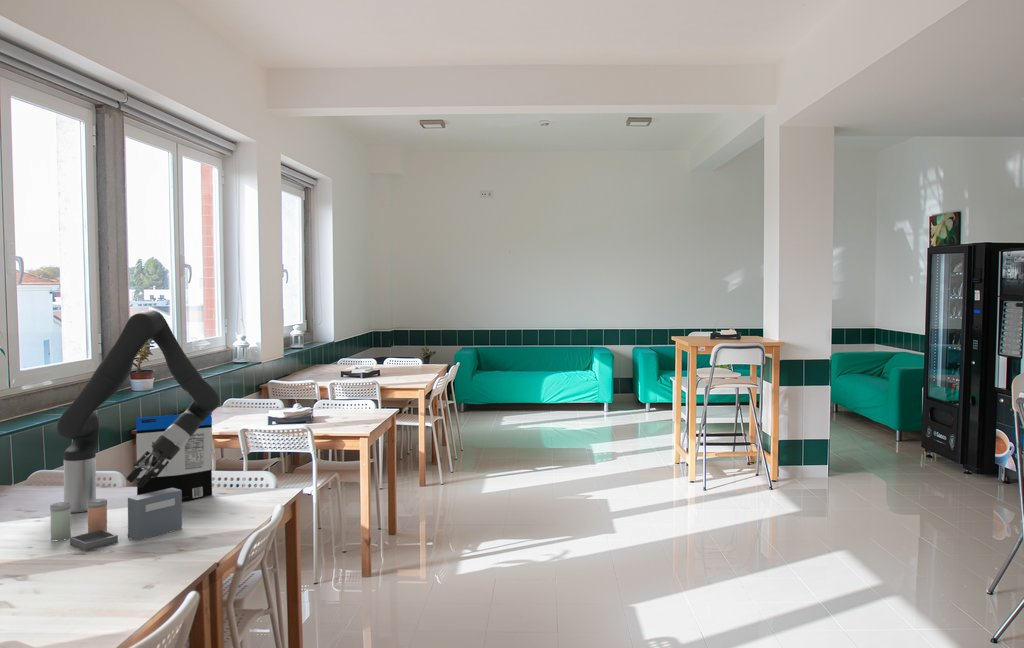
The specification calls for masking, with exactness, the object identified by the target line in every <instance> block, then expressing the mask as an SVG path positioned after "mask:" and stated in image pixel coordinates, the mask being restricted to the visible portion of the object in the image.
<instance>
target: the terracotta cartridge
mask: <svg viewBox="0 0 1024 648" xmlns="http://www.w3.org/2000/svg"><path fill="white" fill-rule="evenodd" d="M87 507H88V511H87V533H90V532H94V531H98V530H105V531H108V499H105V498H96V499H95V500H90V501H88V502H87Z"/></svg>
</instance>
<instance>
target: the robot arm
mask: <svg viewBox="0 0 1024 648" xmlns="http://www.w3.org/2000/svg"><path fill="white" fill-rule="evenodd" d="M122 329H123V330H122V332H121V333H120V335H119V337H118V339H117V341H116V342H115V344H114V345H113V346H112V348H111V349H110V350H109V351H108V353H107V354H106V356H105V357H104V358H103V360H102V361H101V362H100V363H99V365H98V366H97V368H96V370H95V371H94V372H93V374H92V376H91V377H90V378H89V380H88V382H87V383H86V384H85V386H84V387H83V388H82V390H81V391H80V393H79V394H78V395H77V397H76V398H75V399H74V401H73V402H71V404H70V405H69V406H68V408H66V409H65V411H64V412H63V413H62V415H61V416H60V417H59V419H58V421H57V427H56V429H57V435H59V436H60V437H61V438H62V439H64V440H67V441H68V440H72V442H71V444H70V445H69V446H68V447H67V448H66V449H65V450H64V451H63V502H70V503H71V513H84V512H88V507H87V502H88V501H90V500H95V499H97V481H96V480H97V479H96V478H97V468H96V465H97V463H96V461H97V459H96V455H97V454H96V453H97V450H98V447H99V439H100V438H99V437H100V436H99V435H100V421H99V418H98V415H97V413H96V410H97V409H98V408H99V407H100V406H102V405H103V404H104V403H105V402H107V401H108V400H109V399H110V398H111V397H112V396H114V395H115V394H116V393H117V392H118V391H119V390H120V389H121V388H122V386H123V385H124V384H125V382H126V381H127V380H128V378H129V376H130V374H131V372H132V369H133V365H134V360H135V358H136V356H137V354H138V353H139V352H140V351H141V349H142V348H143V347H144V345H145V344H146V343H147V342H148V341H149V340H152V341H153V342H154V343H155V344H156V345H157V347H158V348H159V349H160V352H161V353H162V355H163V357H164V360H165V362H166V365H167V369H168V370H169V372H170V374H171V376H172V377H173V378H174V380H175V381H176V382H177V383H178V385H179V386H180V387H181V388H182V390H184V391H185V392H186V393H188V394H189V395H190V397H191V398H192V399H193V401H192V402H191V403H190V404H189V405H188V407H187V408H186V409H185V411H184V412H182V413H181V414H179V415H180V416H179V417H178V418H177V419H176V420H175V422H174V423H173V424H172V425H171V426H169V427H168V428H167V429H166V430H165V431H164V432H163V433H162V434H161V436H160V437H159V438H158V439H157V440H156V441H155V442H154V443H153V444H152V448H153V449H154V451H153V452H151V453H150V452H148V451H146V452H145V453H144V455H143V456H142V457H141V458H140V459H139V460H138V461H137V460H136V461H135V463H134V464H133V470H131V472H130V473H129V474H128V475H127V476H126V480H127V482H130V483H133V482H134V481H135V480H136V479H137V477H138V476H139V474H140V473H141V472H143V471H144V470H147V471H146V473H145V474H144V475H143V476H142V477H141V478H140V479H139V480H138V481H136V486H137V485H138V486H139V487H141V488H142V487H143V486H144V485H145V484H146V483H147V482H148V481H149V480H150V478H153V477H155V478H156V477H157V476H158V475H159V474H160V473H161V471H162V470H163V469H164V468H165V467H166V465H167V464H168V463H169V461H167V460H166V459H168V460H171V459H172V458H173V457H174V456H175V455H176V454H177V453H178V452H179V450H180V449H181V448H182V447H183V446H184V445H185V444H186V442H187V441H188V440H189V438H190V437H191V436H192V435H193V434H194V432H195V431H196V430H197V429H198V428H199V426H200V425H201V423H202V422H203V421H204V420H205V419H206V418H207V417H208V416H209V415H210V414H211V413H212V414H213V412H214V411H215V410H216V409H218V407H219V406H220V401H221V400H220V396H219V394H218V392H217V391H216V390H215V389H214V388H213V387H212V386H211V385H210V383H209V382H207V381H206V380H205V379H204V377H203V376H202V375H201V374H200V372H199V371H198V369H197V368H196V367H195V365H194V364H193V363H192V361H191V360H190V359H189V357H188V356H187V355H186V352H184V350H183V349H182V347H181V346H180V344H179V341H178V340H177V338H176V336H175V335H174V332H173V331H172V330H171V328H170V326H169V324H168V322H167V320H166V318H165V317H164V315H163V314H162V313H161V312H160V311H157V310H155V309H146V310H143V311H142V310H141V311H138V312H136V313H134V314H132V315H131V316H130V317H129V319H128V320H127V322H126V323H125V326H124V327H123V328H122ZM156 472H157V473H156Z"/></svg>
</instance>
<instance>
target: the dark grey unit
mask: <svg viewBox="0 0 1024 648" xmlns="http://www.w3.org/2000/svg"><path fill="white" fill-rule="evenodd" d="M182 503H183V502H182V490H179V489H176V488H168V489H164V490H159V491H155V492H150V493H146V494H141V495H137V494H136V495H132V496H129V497H127V537H128V539H131V540H133V541H136V542H138V541H142V540H146V539H150V538H153V537H157V536H160V535H164V534H168V533H171V532H170V531H172V532H175V531H179V530H182V528H183V509H182V508H183V505H182ZM178 529H179V530H178ZM174 530H175V531H174ZM167 532H168V533H167Z"/></svg>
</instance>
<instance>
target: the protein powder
mask: <svg viewBox="0 0 1024 648" xmlns="http://www.w3.org/2000/svg"><path fill="white" fill-rule="evenodd" d="M180 415H181V414H171V415H170V414H169V415H160V416H159V415H157V416H155V415H154V416H143V417H142V416H141V417H136V419H135V420H136V424H135V425H136V426H135V427H136V430H135V431H136V433H135V434H136V442H135V443H136V462H137V461H138V460H139V459H140V458H141V457H142V456H143V455H144V453H145V452H146V451H148V452H150V453H151V452H153V451H154V449H153V448H152V444H153V443H154V442H155V441H156V440H157V439H158V438H159V437H160V436H161V434H162V433H163V432H164V431H165V430H166V429H167V428H168V427H169V426H171V425H172V424H173V423H174V422H175V420H176V419H177V418H178V417H179V416H180ZM212 415H213V412H212V413H211V414H210V415H209V416H208V417H207V418H206V419H205V420H204V421H203V422H202V423H201V425H200V426H199V428H198V429H197V430H196V431H195V432H194V434H193V435H192V436H191V437H190V438H189V440H188V441H187V442H186V444H185V445H184V446H183V447H182V448H181V449H180V450H179V452H178V453H177V454H176V455H175V456H174V457H173V458H172V459H171V460H168V459H166V460H167V461H169V463H168V464H167V465H166V467H165V468H164V469H163V470H162V471H161V473H160V474H159V475H158V476H157V477H156V478H155V477H153V478H150V480H149V481H148V482H147V483H146V484H145V485H144V486H143V487H142V488H141V487H139V486H138V485H137V484H136V486H137V487H136V496H137V495H141V494H146V493H150V492H155V491H159V490H164V489H168V488H176V489H179V490H182V503H187V502H192V501H196V500H200V499H204V498H206V497H209V496H213V476H212V475H213V473H212V466H213V465H212V462H213V461H212V458H213V455H212V453H213V417H212ZM146 471H147V470H144V471H143V472H141V473H140V474H139V476H138V477H137V478H136V479H137V481H138V480H139V479H140V478H141V477H142V476H143V475H144V474H145V473H146ZM156 473H157V472H156ZM137 481H136V482H137Z"/></svg>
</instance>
